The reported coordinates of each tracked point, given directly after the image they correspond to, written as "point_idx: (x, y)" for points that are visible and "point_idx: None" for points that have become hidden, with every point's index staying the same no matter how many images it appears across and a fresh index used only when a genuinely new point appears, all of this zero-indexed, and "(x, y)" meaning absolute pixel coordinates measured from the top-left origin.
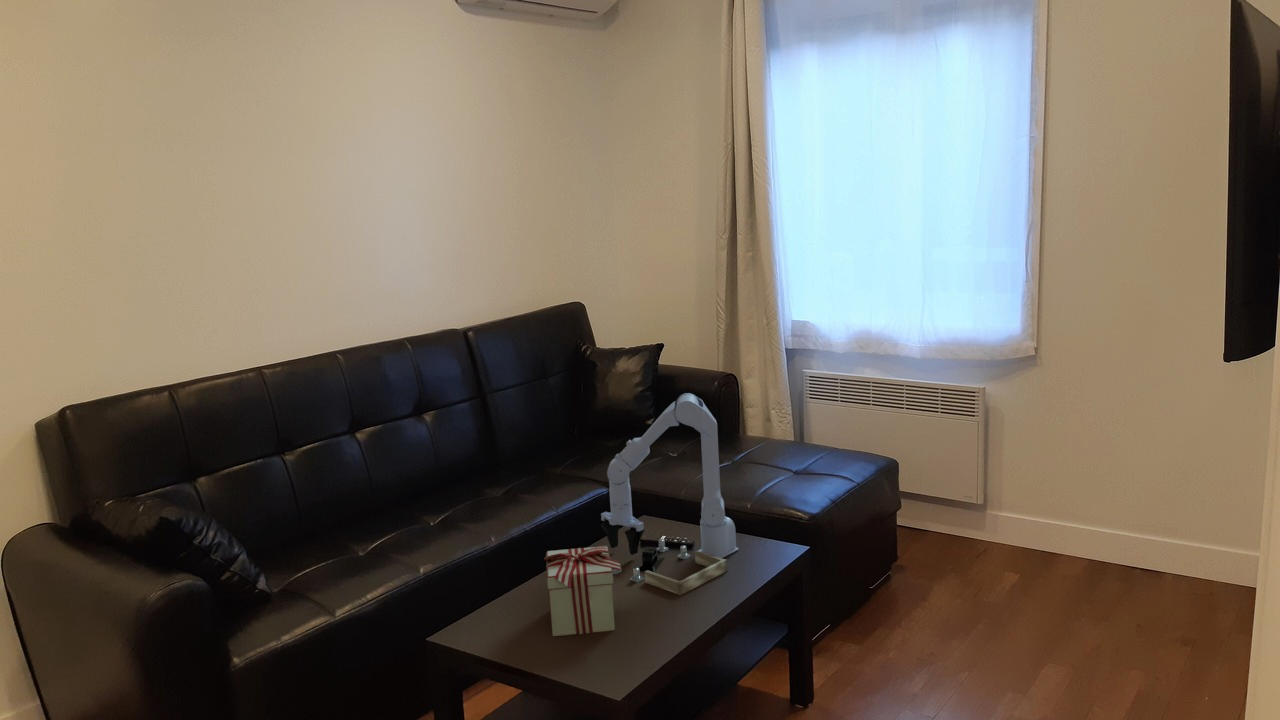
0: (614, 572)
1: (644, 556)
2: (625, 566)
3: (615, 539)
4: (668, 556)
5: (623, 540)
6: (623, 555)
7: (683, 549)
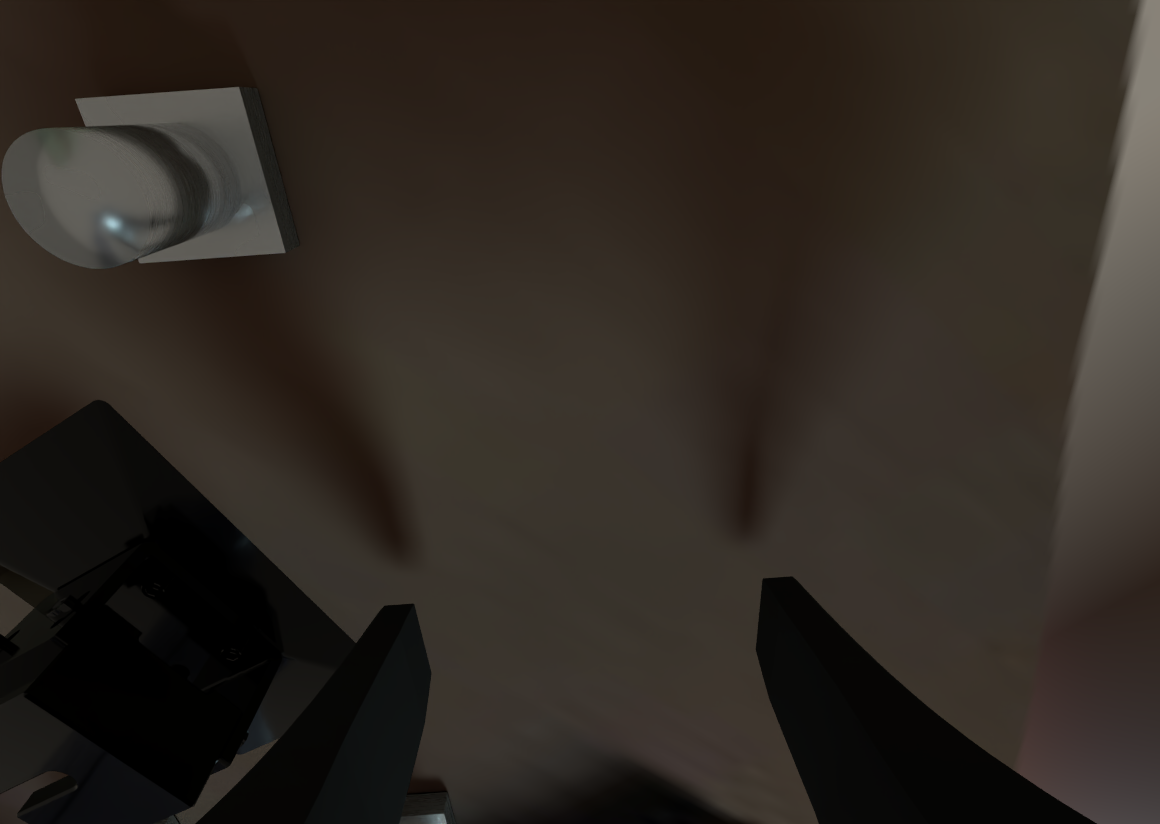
0: (92, 99)
1: (31, 644)
2: (300, 401)
3: (798, 719)
4: None
5: None
6: (604, 573)
7: None
